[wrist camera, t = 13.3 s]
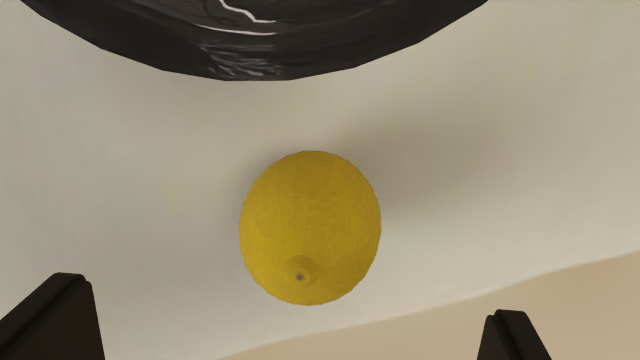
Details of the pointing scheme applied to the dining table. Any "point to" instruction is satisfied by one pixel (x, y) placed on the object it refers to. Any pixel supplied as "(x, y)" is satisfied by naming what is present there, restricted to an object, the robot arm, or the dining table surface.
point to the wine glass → (253, 32)
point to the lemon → (309, 228)
